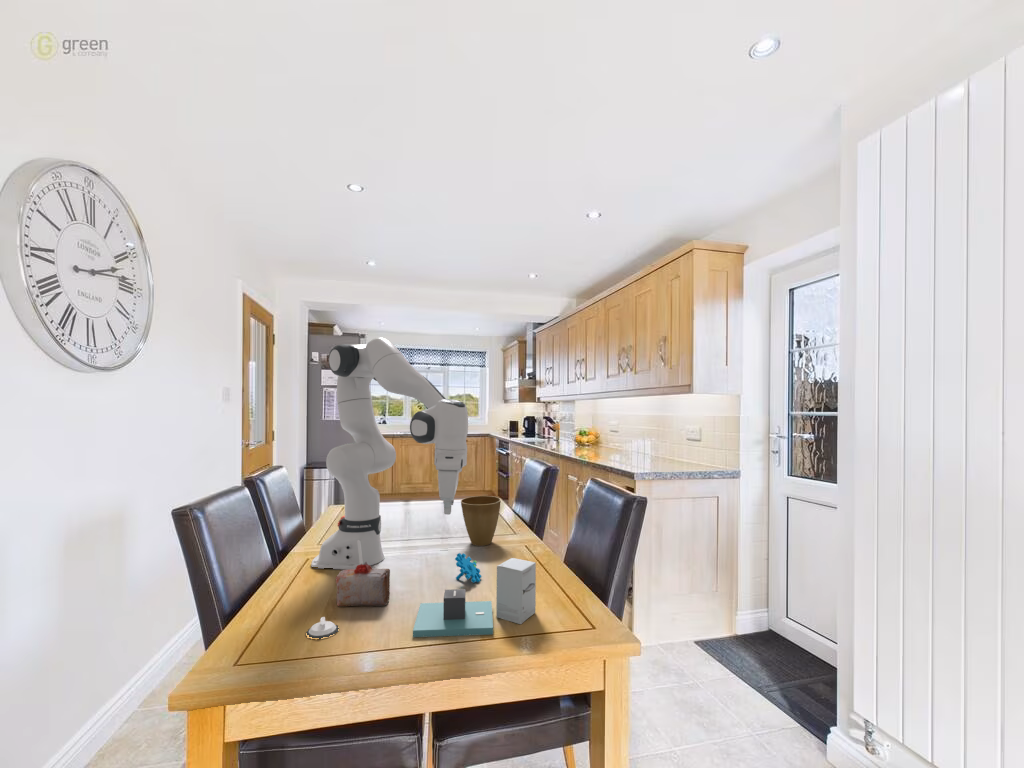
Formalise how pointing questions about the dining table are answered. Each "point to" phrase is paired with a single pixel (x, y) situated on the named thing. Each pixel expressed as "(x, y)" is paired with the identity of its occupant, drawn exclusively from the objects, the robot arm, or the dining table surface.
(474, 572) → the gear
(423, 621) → the control panel
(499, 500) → the plant pot
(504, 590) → the supplement box
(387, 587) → the food item
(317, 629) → the stove knob
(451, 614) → the grey marked cube
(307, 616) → the dining table surface
